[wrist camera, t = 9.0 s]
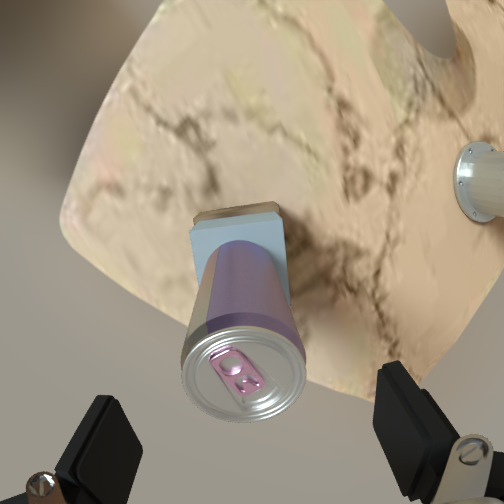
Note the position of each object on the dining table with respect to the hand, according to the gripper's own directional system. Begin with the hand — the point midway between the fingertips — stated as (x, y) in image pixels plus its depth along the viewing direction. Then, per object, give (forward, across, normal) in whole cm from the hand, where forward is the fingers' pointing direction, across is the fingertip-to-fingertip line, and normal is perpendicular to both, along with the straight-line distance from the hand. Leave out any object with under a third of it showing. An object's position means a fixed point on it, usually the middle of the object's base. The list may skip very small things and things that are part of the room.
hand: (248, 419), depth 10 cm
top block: (+24, +1, 0) cm, 24 cm away
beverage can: (+18, +1, 0) cm, 18 cm away
